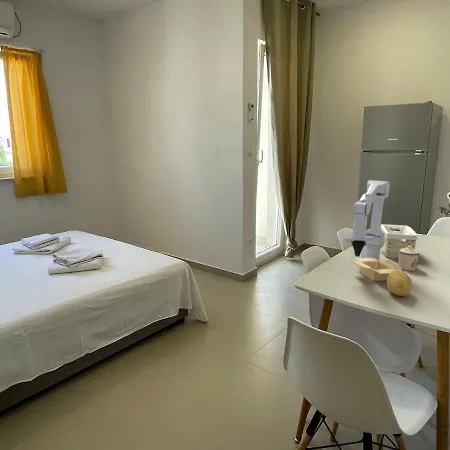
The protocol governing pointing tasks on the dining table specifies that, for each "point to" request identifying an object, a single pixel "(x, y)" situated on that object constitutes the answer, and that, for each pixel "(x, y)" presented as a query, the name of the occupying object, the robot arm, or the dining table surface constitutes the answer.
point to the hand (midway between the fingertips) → (357, 255)
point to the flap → (361, 265)
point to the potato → (399, 283)
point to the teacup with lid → (408, 258)
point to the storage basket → (397, 239)
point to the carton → (377, 268)
